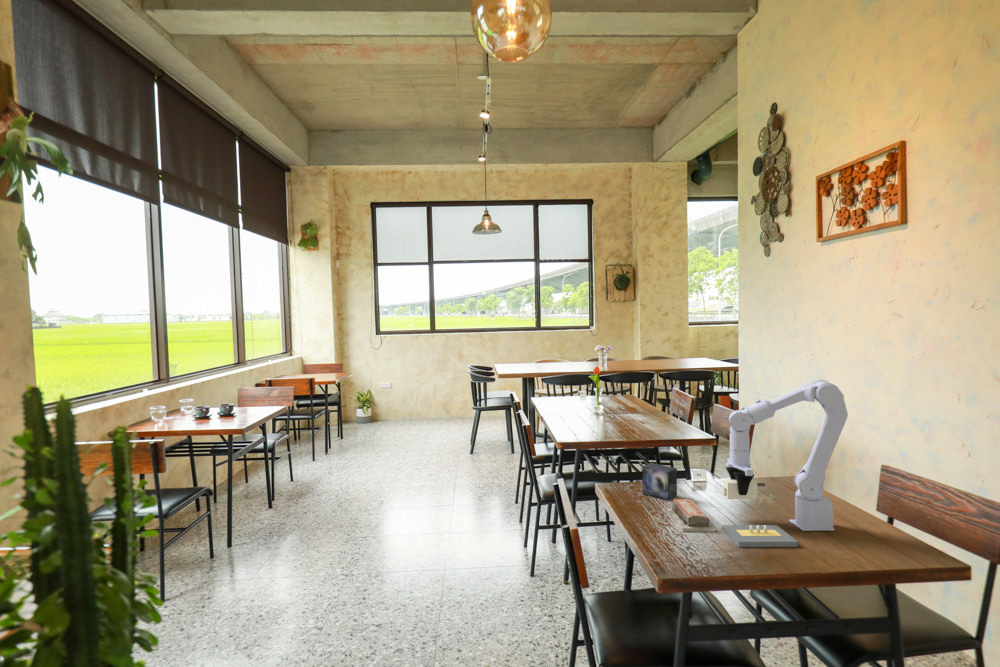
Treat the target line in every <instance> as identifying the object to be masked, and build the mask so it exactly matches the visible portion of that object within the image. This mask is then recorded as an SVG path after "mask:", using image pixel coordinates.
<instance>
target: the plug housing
mask: <svg viewBox="0 0 1000 667" xmlns="http://www.w3.org/2000/svg"><path fill="white" fill-rule="evenodd" d="M758 487H766V484H765V482H756V481H755V480H753V479H752V480H751V482H750V485H749V488H748V492H747V495H739V492H738V485H737V480H731V479H722V495H723V496H724V497H726V499H727V500H758Z"/></svg>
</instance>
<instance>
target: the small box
mask: <svg viewBox="0 0 1000 667" xmlns="http://www.w3.org/2000/svg"><path fill="white" fill-rule="evenodd" d="M677 471H678V469H677V468H676V467H673V466H668V465H664V464H658V463H652V462H651V463H648V464H646V465H643V466H642V494H643V495H644V494H645V495H644V496H648V495H649V497H651V496H652V497H653V498H655V497H656V499H659V498H660V499H659V500H663V501H666V500H667V502H670V501H672V500H674V499H676V498H678V489H677V488H678V481H677V476H678V475H677V474H678V472H677ZM675 497H676V498H675ZM673 498H674V499H673ZM671 499H672V500H671ZM669 500H670V501H669Z"/></svg>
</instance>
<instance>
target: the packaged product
mask: <svg viewBox="0 0 1000 667" xmlns="http://www.w3.org/2000/svg"><path fill="white" fill-rule="evenodd" d="M666 510H667V513H668V514H669V515H670V516H671V518H672V520H673V521H674V523H675V524H676V525H677V527H678V528H679V529H680V530H681V531H682V532H685V533H689V532H690V533H693V532H694V533H697V532H698V533H702V532H703V533H705V532H707V533H708V532H711V533H714V532H713V531H716V532H717V528H715V526H714V525H713V524H712V523H711V520H710V518H709V517H708V516H707V514H705V512H704V511H703V510H702V509H701V508H700V507H699V506H698V505H697V504H696V502H695V501H694V500H691V499H690V498H674V499H672V505H671V507H667V508H666Z"/></svg>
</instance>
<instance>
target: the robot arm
mask: <svg viewBox="0 0 1000 667" xmlns="http://www.w3.org/2000/svg"><path fill="white" fill-rule="evenodd" d="M803 401H805V402H809V403H815V402H818V403H819V404H820V406H821V407H822V409H823V410H824V413H825V414H826V416H825V418H824V420H823V423H822V426H821V427H820V429H819V432H818V435H817V436H816V437H817V438H816V439H815V442H814V444H813V446H812V450H811V451H810V454H809V457H808V460H807V461H806V463H805V464H803V465H802V468H801V469H800V471H799V472H797V473H796V475H795V476H794V478H793V479H794V484H795V486H796V488H797V490H796V491H795V493H794V498H795V499H794V511H795V512H794V515H795V518H794V519H790V518H789V520H788V521H789V522H790V523H791V524H793V525H794V526H795V527H797V528H798V529H799V530H801V531H805V532H806V531H807V532H808V531H809V532H810V531H813V532H814V531H821V532H822V531H823V532H824V531H826V532H827V531H830V532H831V531H835V530H836V529H835V528H834V507H833V506H834V505H833V503H832V501H831V499H830V498H829V497H828V496H823V495H824V491H825V489H824V483H825V479H826V470H827V467H828V465H829V462H830V460H831V458H832V456H833V453H834V450H835V448H836V445H837V443H838V441H839V438H840V436H841V433H842V431H843V429H844V426H845V423H846V422H847V420H848V415H849V413H848V410H847V406H846V402H845V396H844V393H843V392H842V391H841V389H839V387H838V386H837V385H835V384H834V383H831V382H828V381H827V380H824V379H819V380H815V381H813V382H809V383H806V384H803V385H801V386H799V387H796V388H795V389H793V390H791V391H788V392H787V393H784V394H782V395H780V396H779V397H776V398H774V399H771V400H767V399H761V400H760V398H759V399H756V400H755V402H754V403H752V404H750V405H747V406H745V407H744V406H742V407H740V410H739V409H737V410H734V411H732V412H731V413H730V414H729V417H728V422H729V424H730V426H729V432H730V433H729V457H727V462H725V465H726V467H725V468H726V471H727V473H728V475H729V477H730V480H737V485H738V492H739V495H747V492H748V488H749V485H750V482H751V480H753V479H754V477H755V473H754V469H753V468H752V464H751V462H750V461H751V458H750V455H751V454H750V453H751V450H750V445H751V443H750V439H751V438H750V434H749V433H750V432H749V430H750V428H751V425H757V424H759V423H762V422H763V421H767V420H768V419H771V418H773V417H774V416H775V414H776V411H779V410H781V409H783V408H786V407H789V406H792V405H794V404H797V403H799V402H803Z"/></svg>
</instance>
